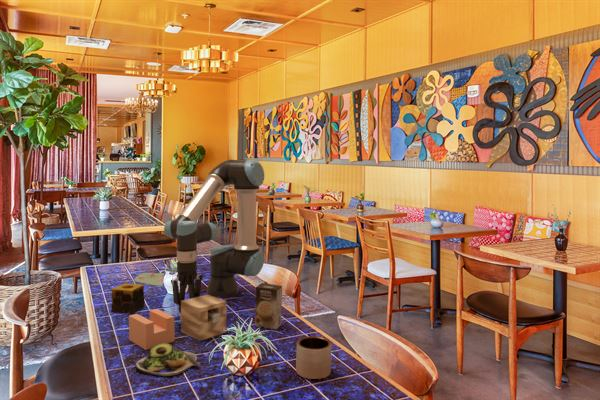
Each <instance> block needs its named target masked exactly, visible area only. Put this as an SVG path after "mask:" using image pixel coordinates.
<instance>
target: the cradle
mask: <svg viewBox="0 0 600 400" xmlns="http://www.w3.org/2000/svg"><path fill="white" fill-rule="evenodd" d="M128 332H129V333H128V339H129V341H131V342H132V343H133V344H135V345H137V346H138V347H140V348H142V349H143V350H145V351H147V350H151V348H153V347H154V346H156V345H158V344H161V343H168V344H170V343H174V342H175V338H176V337H175V335H176V334H175V316H174V315H172V314H170V313H167V312H165V311H163V310H161V309H159V308H155V309H150V310H149V318H146V317H145V316H142V315H140V314H138V313H135V314H134V313H133V314H130V315H128Z"/></svg>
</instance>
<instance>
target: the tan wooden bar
mask: <svg viewBox="0 0 600 400" xmlns="http://www.w3.org/2000/svg"><path fill="white" fill-rule="evenodd" d="M208 321H210V322H212V323H215V322H219V321H220V313H219V312H216V311H214V310H211V309H210V310H208Z"/></svg>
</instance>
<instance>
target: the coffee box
mask: <svg viewBox="0 0 600 400" xmlns="http://www.w3.org/2000/svg"><path fill="white" fill-rule="evenodd" d="M282 298H283V285H280V284H279V285H278V284H271V283H266V282H264V283H263V282H261V283H260V284H258V285H257V286H256V287H255V311H254V312H255V317H254V320H255V321H254V327H255V326H256V328H261V327H264V328H263V329H267V328H270V329H269V330H273V329H276V330H277V329H279V327H280V326H282V305H283V302H282V301H283V300H282Z"/></svg>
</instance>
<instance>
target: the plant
mask: <svg viewBox="0 0 600 400" xmlns="http://www.w3.org/2000/svg"><path fill="white" fill-rule="evenodd" d="M147 267H148V269H147V270H145V271H146V272H143V273H140V274H138V275H137V276H135V278H134V282H136V283H141V284H144V285H145V284H146V285H154V286H158V287H159V286H164V285H163V277H164V274H165V273H163V272H162V273H160V272H159V273H158V271H157V269H155V267H154V264H153V263H152V262H150V264H149V265H147Z"/></svg>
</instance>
